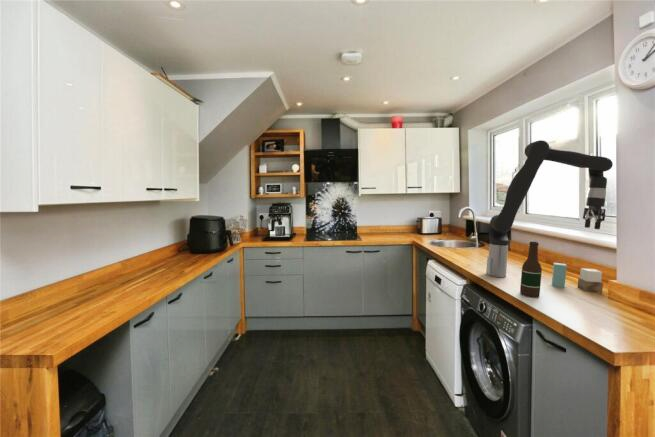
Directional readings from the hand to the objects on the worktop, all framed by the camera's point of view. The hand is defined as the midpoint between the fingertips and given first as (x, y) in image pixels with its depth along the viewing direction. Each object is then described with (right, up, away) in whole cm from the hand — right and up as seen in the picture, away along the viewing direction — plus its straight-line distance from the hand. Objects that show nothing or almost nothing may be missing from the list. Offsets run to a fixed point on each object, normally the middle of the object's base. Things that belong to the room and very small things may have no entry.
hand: (592, 228), depth 177 cm
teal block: (-22, -28, -7) cm, 37 cm away
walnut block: (-11, -30, -13) cm, 34 cm away
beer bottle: (-47, -29, -24) cm, 61 cm away
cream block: (-11, -25, -13) cm, 30 cm away
